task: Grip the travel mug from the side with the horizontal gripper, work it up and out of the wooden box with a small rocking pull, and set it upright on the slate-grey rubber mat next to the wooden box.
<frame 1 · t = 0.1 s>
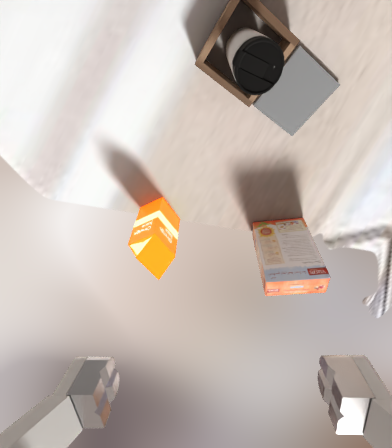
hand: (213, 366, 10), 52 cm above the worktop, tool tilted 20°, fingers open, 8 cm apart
orange juice: (160, 212, 72), on the worktop
mat: (294, 94, 51), on the worktop
wooden box: (242, 48, 46), on the worktop
cracker box: (276, 226, 73), on the worktop
travel mug: (241, 48, 46), resting in wooden box
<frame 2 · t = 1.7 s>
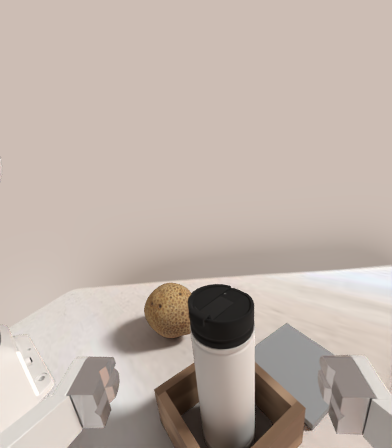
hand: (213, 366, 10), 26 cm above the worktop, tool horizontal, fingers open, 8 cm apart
mat: (296, 368, 38), on the worktop
wooden box: (227, 431, 31), on the worktop
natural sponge: (174, 332, 47), on the worktop
travel mug: (227, 432, 31), resting in wooden box
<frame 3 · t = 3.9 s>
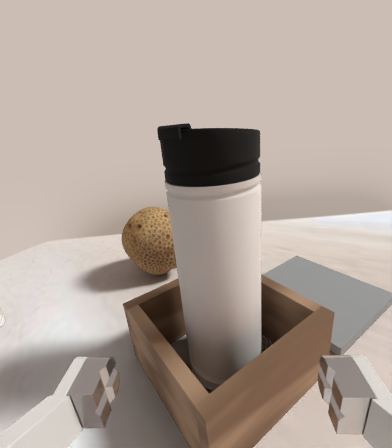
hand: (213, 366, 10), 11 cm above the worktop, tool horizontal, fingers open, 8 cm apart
mat: (312, 297, 30), on the worktop
wooden box: (224, 362, 23), on the worktop
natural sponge: (160, 271, 38), on the worktop
travel mug: (224, 363, 23), resting in wooden box
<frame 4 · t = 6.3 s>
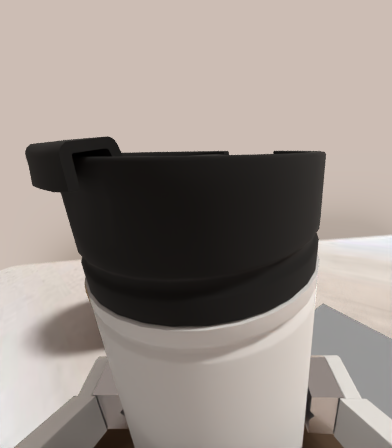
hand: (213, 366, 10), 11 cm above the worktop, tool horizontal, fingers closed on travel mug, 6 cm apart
mat: (355, 381, 20), on the worktop
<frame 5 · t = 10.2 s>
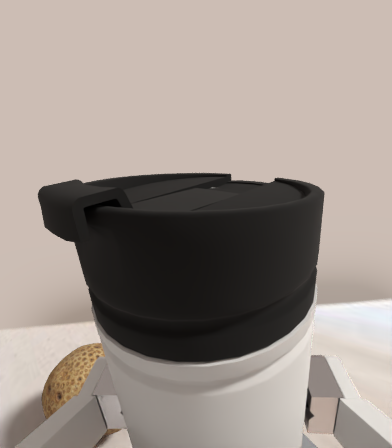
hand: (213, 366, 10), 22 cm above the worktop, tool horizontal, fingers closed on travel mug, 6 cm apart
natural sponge: (103, 418, 30), on the worktop
when the fingers open (13 cm above the worktop, at t = 13.7 s): travel mug stays where it is, resting on mat.
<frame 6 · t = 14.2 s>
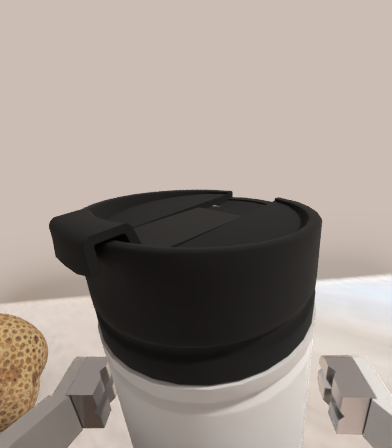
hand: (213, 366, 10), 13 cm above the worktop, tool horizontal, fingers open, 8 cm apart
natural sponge: (9, 411, 23), on the worktop
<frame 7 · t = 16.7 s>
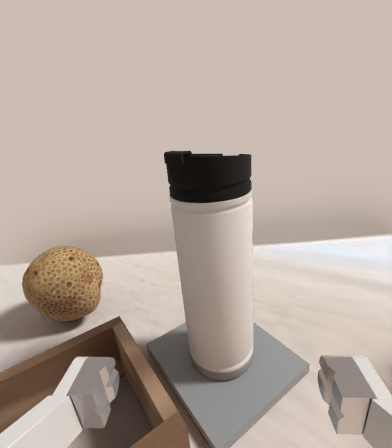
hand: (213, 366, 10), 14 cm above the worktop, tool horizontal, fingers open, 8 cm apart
mat: (222, 360, 26), on the worktop
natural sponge: (77, 315, 35), on the worktop
travel mug: (220, 355, 26), point 1 cm above the worktop, touching mat
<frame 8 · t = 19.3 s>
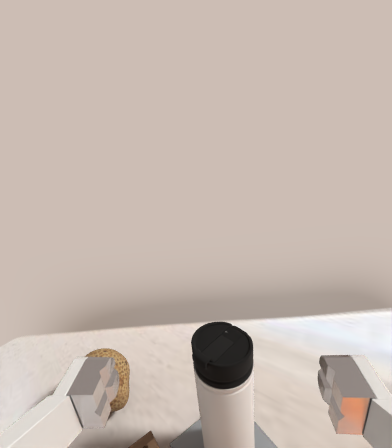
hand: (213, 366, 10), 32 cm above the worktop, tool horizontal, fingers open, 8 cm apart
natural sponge: (108, 402, 42), on the worktop
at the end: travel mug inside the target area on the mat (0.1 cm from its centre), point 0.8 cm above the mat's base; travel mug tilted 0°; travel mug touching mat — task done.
